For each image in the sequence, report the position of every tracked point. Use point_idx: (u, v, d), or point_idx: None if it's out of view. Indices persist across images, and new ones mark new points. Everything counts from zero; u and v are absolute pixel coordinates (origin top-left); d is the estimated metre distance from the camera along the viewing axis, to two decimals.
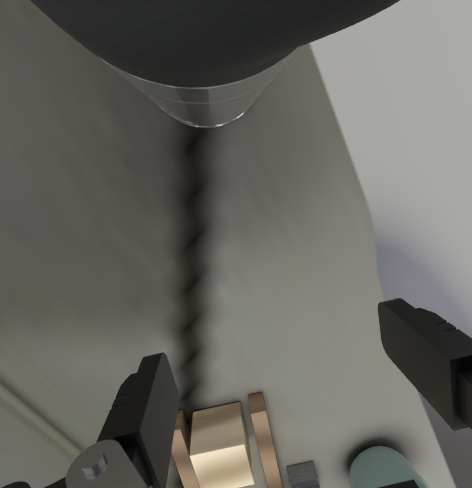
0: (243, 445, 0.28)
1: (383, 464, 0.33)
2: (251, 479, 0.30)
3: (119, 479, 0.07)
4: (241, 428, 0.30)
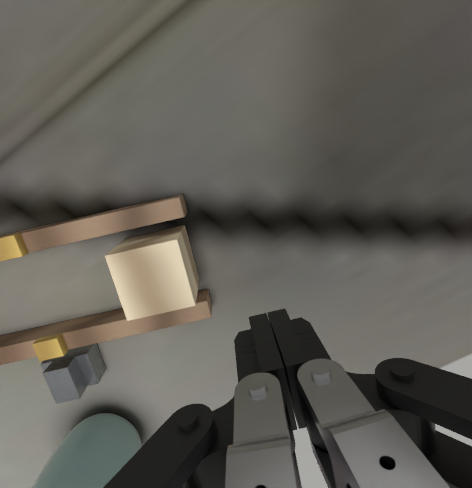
0: (193, 304, 0.23)
1: None
2: (135, 317, 0.23)
3: (270, 413, 0.07)
4: (196, 294, 0.24)
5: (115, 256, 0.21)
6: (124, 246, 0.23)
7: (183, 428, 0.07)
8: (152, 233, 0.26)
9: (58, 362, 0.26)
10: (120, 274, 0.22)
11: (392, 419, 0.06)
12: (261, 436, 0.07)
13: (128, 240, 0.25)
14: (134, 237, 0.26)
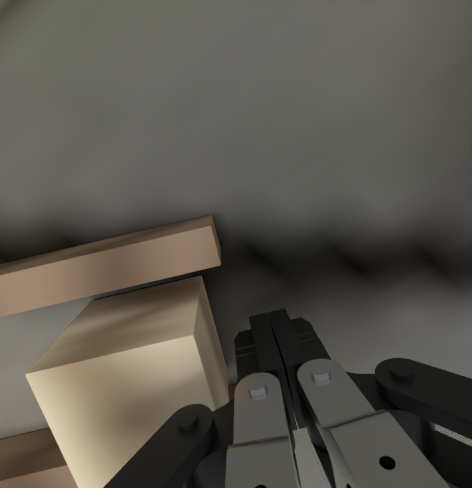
0: None
1: None
2: None
3: (270, 413, 0.07)
4: None
5: (49, 375, 0.09)
6: (78, 335, 0.11)
7: (183, 428, 0.07)
8: (140, 293, 0.13)
9: None
10: (64, 411, 0.10)
11: (392, 419, 0.06)
12: (261, 436, 0.07)
13: (93, 310, 0.13)
14: (106, 300, 0.14)
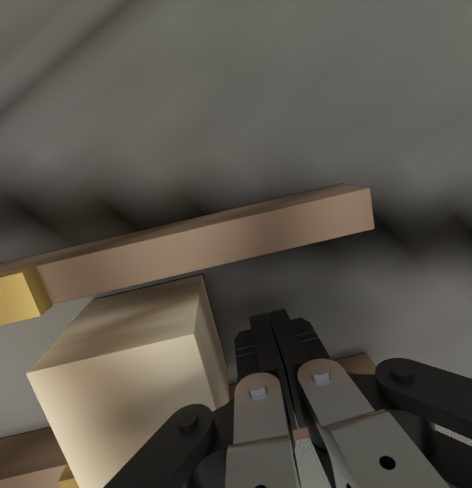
0: None
1: None
2: None
3: (270, 413, 0.07)
4: None
5: (50, 374, 0.09)
6: (79, 334, 0.11)
7: (183, 428, 0.07)
8: (141, 292, 0.14)
9: None
10: (64, 410, 0.10)
11: (392, 419, 0.06)
12: (261, 436, 0.07)
13: (93, 309, 0.13)
14: (107, 300, 0.14)
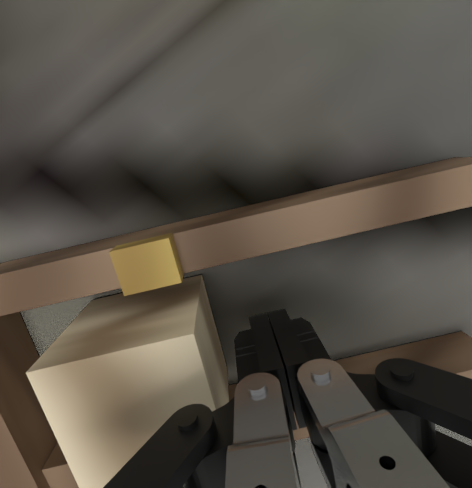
0: None
1: None
2: None
3: (270, 413, 0.07)
4: None
5: (50, 373, 0.09)
6: (79, 334, 0.11)
7: (183, 428, 0.07)
8: (141, 292, 0.14)
9: None
10: (64, 410, 0.10)
11: (392, 419, 0.06)
12: (261, 436, 0.07)
13: (93, 309, 0.13)
14: (106, 300, 0.14)
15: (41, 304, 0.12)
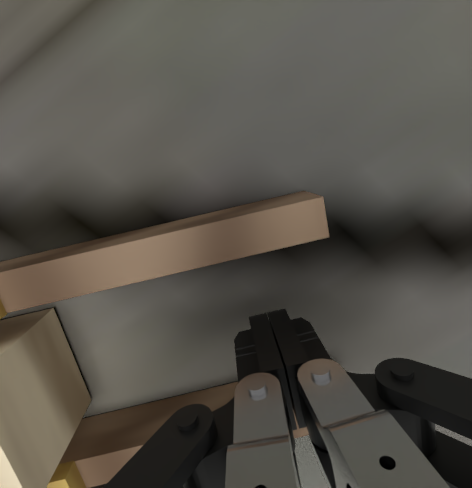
0: None
1: None
2: None
3: (270, 413, 0.07)
4: (57, 460, 0.12)
5: None
6: None
7: (183, 428, 0.07)
8: None
9: None
10: None
11: (392, 419, 0.06)
12: (261, 436, 0.07)
13: None
14: None
15: None
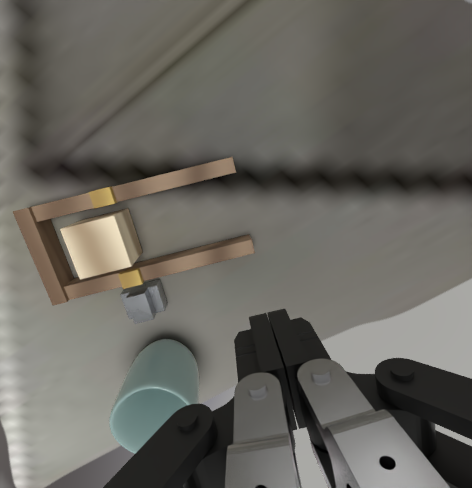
0: (129, 265, 0.30)
1: (196, 365, 0.35)
2: (86, 276, 0.30)
3: (270, 413, 0.07)
4: (135, 260, 0.32)
5: (68, 229, 0.29)
6: (77, 223, 0.30)
7: (183, 428, 0.07)
8: (102, 215, 0.33)
9: (135, 292, 0.33)
10: (72, 243, 0.29)
11: (392, 419, 0.06)
12: (261, 436, 0.07)
13: (82, 220, 0.32)
14: (88, 218, 0.33)
15: (64, 214, 0.31)
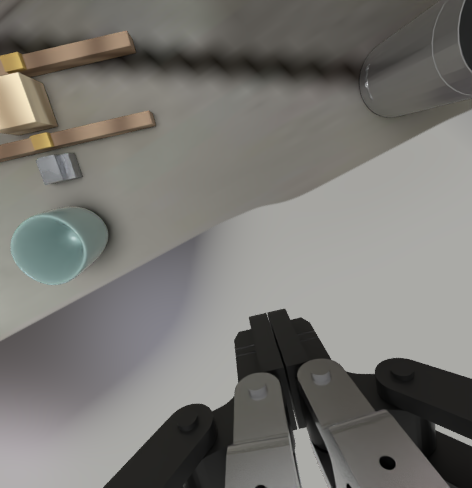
0: (34, 120, 0.35)
1: (104, 228, 0.40)
2: None
3: (270, 413, 0.07)
4: (43, 122, 0.36)
5: None
6: None
7: (183, 428, 0.07)
8: None
9: None
10: None
11: (392, 419, 0.06)
12: (261, 436, 0.07)
13: None
14: None
15: None
